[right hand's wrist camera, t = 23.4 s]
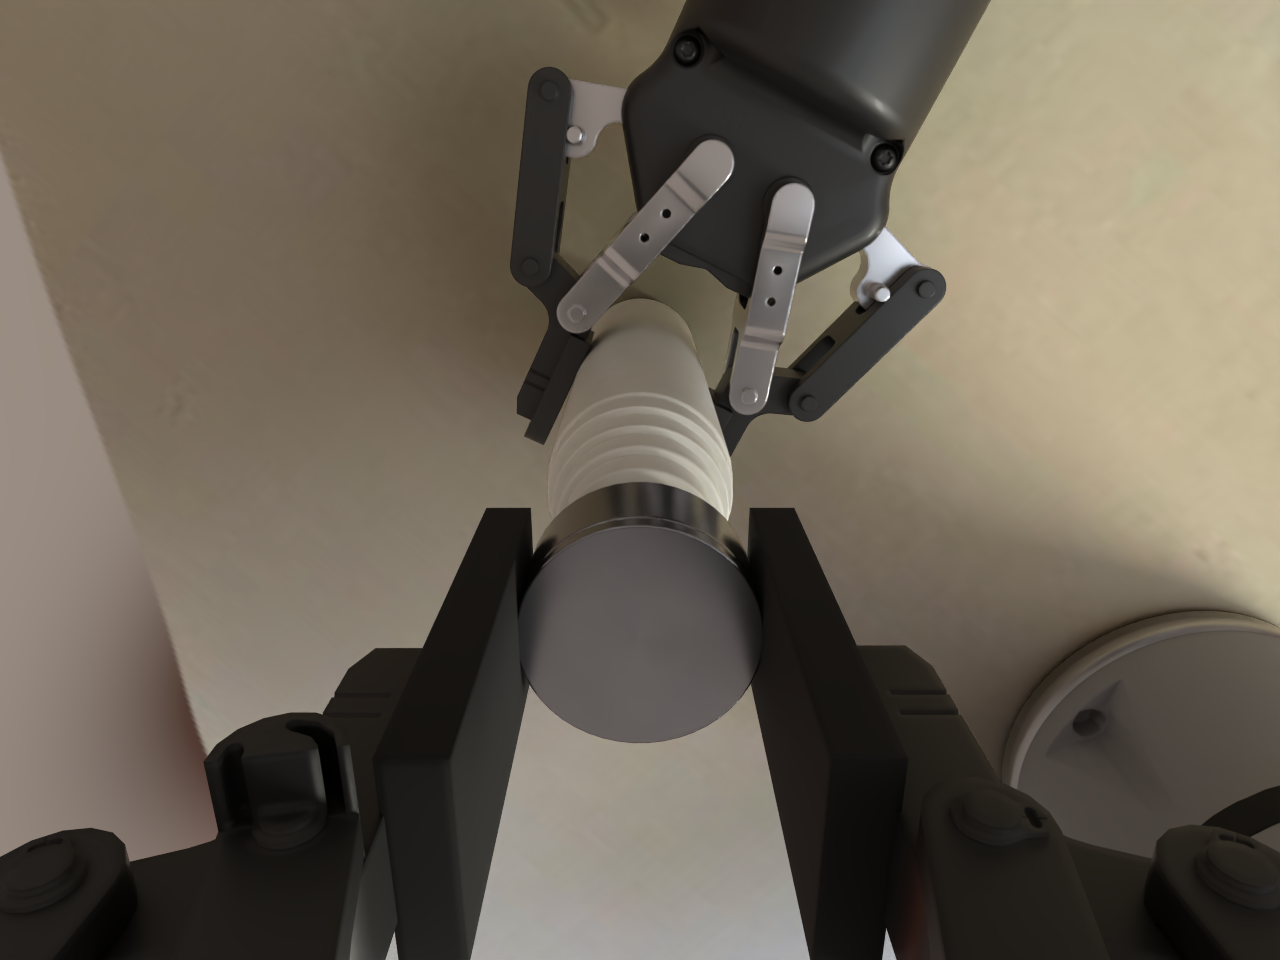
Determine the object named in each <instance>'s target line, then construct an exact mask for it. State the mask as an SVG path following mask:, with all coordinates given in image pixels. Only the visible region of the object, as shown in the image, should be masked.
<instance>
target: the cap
mask: <svg viewBox="0 0 1280 960" xmlns="http://www.w3.org/2000/svg"><path fill="white" fill-rule="evenodd" d="M517 618H518V637H519V655H520V664H521V667H522V670H523V672H524V675H525V677H526V678H527V680H528V682H529V684H530V686H531V687H532V689H533V690H534V692H535V693H536V694H537V696H538V697H539V698H540V700H541V701H542V702H543V703H544V704H545V705H546V706H547V707H548V708H549V709H550V710H551V711H553V712H554V713H555V714H556V715H558V716H559V717H560V718H561V719H563V720H564V721H566V722H568V723H569V724H571V725H572V726H574V727H576V728H578V729H580V730H582V731H585V732H587V733H589V734H592V735H595V736H598V737H601V738H604V739H609V740H614V741H619V742H629V743H652V742H660V741H666V740H671V739H675V738H679V737H682V736H685V735H688V734H691V733H694V732H696V731H698V730H700V729H702V728H704V727H706V726H708V725H709V724H711V723H712V722H714V721H715V720H717V719H719V718H720V717H721V716H722V715H724V714H725V713H726V712H727V711H728V710H730V709H731V708H732V707H733V706H734V705H735V704H736V702H737V701H738V700H739V699H740V698H741V697H742V696H743V694H744V693H745V691H746V690H747V689H748V687H749V686H750V684H751V682H752V680H753V678H754V676H755V674H756V672H757V670H758V667H759V664H760V661H761V647H762V629H763V614H762V610H761V606H760V602H759V599H758V595H757V591H756V588H755V584H754V580H753V577H752V573H751V570H750V566H749V562H748V559H747V555H746V552H745V549H744V547H743V545H742V542H741V540H740V538H739V537H738V535H737V533H736V532H735V530H734V528H733V527H732V526H731V525H730V523H729V522H728V521H727V520H726V518H725V517H724V516H723V515H722V514H721V513H720V512H718V511H717V510H716V509H715V508H714V507H713V506H711V505H710V504H709V503H707V502H706V501H704V500H703V499H701V498H699V497H697V496H695V495H694V494H692V493H690V492H687V491H685V490H682V489H679V488H677V487H673V486H669V485H665V484H660V483H651V482H628V483H621V484H615V485H611V486H607V487H603V488H600V489H598V490H595V491H593V492H590V493H588V494H586V495H584V496H583V497H581V498H579V499H577V500H575V501H574V502H573V503H571V504H570V505H569V506H567V507H566V508H565V509H563V510H562V511H561V512H560V513H559V514H558V515H557V516H556V517H555V518H554V519H553V521H552V522H551V523H550V524H549V526H548V527H547V528H546V530H545V531H544V533H543V535H542V536H541V538H540V540H539V542H538V544H537V547H536V549H535V552H534V555H533V558H532V562H531V565H530V569H529V573H528V576H527V580H526V583H525V587H524V591H523V594H522V598H521V601H520V605H519V609H518V615H517Z"/></svg>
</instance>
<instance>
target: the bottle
mask: <svg viewBox="0 0 1280 960" xmlns="http://www.w3.org/2000/svg"><path fill="white" fill-rule="evenodd" d="M591 331H593V332H594V336H593V339H592V343H591V346H590V348H589V350H588V352H587V354H586V356H585V358H584V361H583V363H582V365H581V366H580V368H579V370H578V372H577V375H576V377H575V380H574V383H573V386H572V390H571V393H570V396H569V399H568V402H567V405H566V409H565V412H564V415H563V418H562V421H561V424H560V428H559V431H558V434H557V437H556V440H555V444H554V447H553V450H552V453H551V456H550V461H549V466H548V487H547V498H548V506H549V511H550V515H551V518H552V521H553V519H554V518H555V517H556V516H557V515H558V514H559V513H560V512H561V511H562V510H563V509H565V508H566V507H567V506H569V505H570V504H571V503H573V502H574V501H575V500H577V499H579V498H581V497H583V496H584V495H586V494H588V493H590V492H593V491H595V490H598V489H600V488H603V487H607V486H611V485H615V484H621V483H628V482H651V483H660V484H665V485H669V486H673V487H677V488H679V489H682V490H685V491H687V492H690V493H692V494H694V495H695V496H697V497H699V498H701V499H703V500H704V501H706V502H707V503H709V504H710V505H711V506H713V507H714V508H715V509H716V510H717V511H718V512H720V513H721V514H722V515H723V516H724V517H725V518H726V520H727V521H728V519H729V515H730V512H731V507H732V500H733V472H732V465H731V460H730V456H729V453H728V449H727V446H726V443H725V440H724V436H723V433H722V430H721V427H720V424H719V421H718V417H717V414H716V411H715V408H714V405H713V401H712V398H711V395H710V392H709V389H708V385H707V382H706V379H705V376H704V373H703V369H702V366H701V363H700V360H699V357H698V353H697V350H696V347H695V344H694V341H693V338H692V334H691V332H690V330H689V328H688V326H687V324H686V323H685V321H684V320H683V319H682V317H681V316H680V315H679V314H678V313H677V312H676V311H674V310H673V309H672V308H670V307H669V306H667V305H665V304H663V303H661V302H658V301H655V300H650V299H630V300H626V301H623V302H620V303H618V304H615V305H613V306H612V307H610V308H609V309H608V310H607V311H606V312H605V313H604V314H603V315H602V316H601V317H600V318H599V319H598V321H597V322H596V323H595V324H594V325H593V327H592V329H591Z"/></svg>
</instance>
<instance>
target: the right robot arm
mask: <svg viewBox="0 0 1280 960" xmlns="http://www.w3.org/2000/svg"><path fill="white" fill-rule="evenodd" d="M532 558H533V544H532V523H531V508H486V510H485V512H484V514H483V517H482V519H481V521H480V523H479V525H478V528H477V530H476V532H475V534H474V536H473V539H472V541H471V543H470V545H469V547H468V550H467V552H466V554H465V556H464V558H463V561H462V563H461V565H460V567H459V569H458V572H457V574H456V576H455V578H454V580H453V583H452V585H451V587H450V589H449V591H448V594H447V596H446V598H445V600H444V602H443V605H442V607H441V609H440V611H439V613H438V615H437V618H436V620H435V622H434V624H433V626H432V629H431V631H430V633H429V635H428V637H427V640H426V642H425V644H424V646H423V648H375V649H374V650H373V651H371V652H370V653H369V654H367V655H366V656H365V657H363V658H362V659H361V660H360V661H358V662H357V663H356V664H354V665H353V666H352V667H350V668H349V669H348V671H347V672H346V674H345V676H344V678H343V679H342V681H341V683H340V684H339V686H338V688H337V690H336V691H335V696H334V698H331V700H330V702H329V703H328V705H327V707H326V708H325V710H324V712H323V715H322V714H319V713H286V714H282V715H277V716H272V717H268V718H263V719H261V720H259V721H256V722H254V723H251V724H249V725H247V726H244V727H242V728H240V729H238V730H236V731H235V732H233V733H232V734H231V735H229V736H228V737H226V738H225V739H224V740H222V741H221V742H219V743H218V744H217V745H216V746H215V747H214V749H213V750H212V751H211V753H210V754H209V755H208V757H207V758H206V759H205V761H204V766H205V771H206V776H207V780H208V785H209V790H210V794H211V799H212V804H213V808H214V813H215V818H216V822H217V827H218V834H217V837H216V839H215V840H213V841H210V842H207V843H204V844H201V845H197V846H194V847H191V848H187V849H183V850H179V851H175V852H170V853H166V854H162V855H157V856H153V857H149V858H144V859H140V860H136V861H131V862H129V858H128V854H127V850H126V846H125V844H124V843H123V842H122V841H121V840H120V839H119V838H118V837H117V836H116V835H115V834H114V833H112V832H107V831H103V830H99V829H94V828H85V829H75V830H65V831H60V832H57V833H54V834H51V835H48V836H45V837H41V838H38V839H35V840H32V841H30V842H28V843H26V844H24V845H22V846H20V847H18V848H16V849H14V850H13V851H11V852H9V853H7V854H5V855H3V856H1V857H0V960H385V959H386V956H387V953H388V950H389V947H390V943H391V940H392V937H393V934H394V931H395V937H396V944H397V952H398V959H399V960H470V958H471V954H472V949H473V944H474V940H475V935H476V930H477V926H478V921H479V916H480V912H481V907H482V902H483V898H484V893H485V889H486V884H487V879H488V875H489V870H490V865H491V861H492V856H493V851H494V847H495V842H496V837H497V833H498V828H499V823H500V819H501V814H502V809H503V805H504V800H505V796H506V791H507V786H508V782H509V777H510V772H511V768H512V763H513V758H514V754H515V749H516V744H517V740H518V735H519V730H520V726H521V721H522V716H523V712H524V707H525V703H526V698H527V693H528V689H529V682H528V680H527V678H526V677H525V675H524V672H523V670H522V667H521V664H520V655H519V637H518V618H517V615H518V609H519V605H520V601H521V598H522V594H523V591H524V587H525V583H526V580H527V576H528V573H529V569H530V565H531V562H532ZM747 559H748V562H749V566H750V570H751V573H752V577H753V580H754V584H755V588H756V591H757V595H758V599H759V602H760V606H761V610H762V614H763V629H762V647H761V661H760V664H759V667H758V670H757V672H756V674H755V676H754V678H753V680H752V682H751V686H752V691H753V695H754V700H755V705H756V709H757V714H758V719H759V723H760V728H761V733H762V737H763V742H764V747H765V751H766V756H767V761H768V765H769V770H770V774H771V779H772V784H773V788H774V793H775V798H776V802H777V807H778V812H779V816H780V821H781V826H782V830H783V835H784V840H785V844H786V849H787V853H788V858H789V863H790V867H791V872H792V877H793V881H794V886H795V891H796V895H797V900H798V905H799V909H800V914H801V919H802V923H803V928H804V932H805V937H806V942H807V946H808V951H809V956H810V960H882V956H883V948H884V941H885V933H886V928H887V931H888V934H889V938H890V941H891V944H892V947H893V950H894V953H895V956H896V959H897V960H1280V628H1278V627H1276V626H1274V625H1272V624H1270V623H1268V622H1265V621H1262V620H1259V619H1256V618H1253V617H1249V616H1245V615H1241V614H1236V613H1228V612H1221V611H1188V612H1179V613H1171V614H1165V615H1161V616H1156V617H1152V618H1148V619H1145V620H1141V621H1138V622H1135V623H1132V624H1129V625H1127V626H1124V627H1121V628H1119V629H1116V630H1114V631H1112V632H1110V633H1108V634H1106V635H1104V636H1102V637H1100V638H1098V639H1096V640H1095V641H1093V642H1091V643H1089V644H1088V645H1086V646H1084V647H1083V648H1081V649H1080V650H1078V651H1077V652H1076V653H1074V654H1073V655H1071V656H1070V657H1069V658H1067V659H1066V660H1065V661H1064V662H1062V663H1061V664H1060V665H1059V666H1058V667H1056V668H1055V669H1054V670H1053V671H1052V672H1051V673H1050V674H1049V675H1048V676H1047V677H1046V678H1045V679H1044V680H1043V681H1042V682H1041V684H1040V685H1039V686H1038V687H1037V688H1036V689H1035V690H1034V692H1033V693H1032V694H1031V696H1030V697H1029V699H1028V700H1027V701H1026V703H1025V704H1024V706H1023V707H1022V709H1021V711H1020V713H1019V714H1018V716H1017V718H1016V720H1015V722H1014V724H1013V726H1012V728H1011V731H1010V734H1009V737H1008V740H1007V742H1006V746H1005V751H1004V755H1003V762H1002V783H1001V782H1000V780H999V778H998V777H997V775H996V773H995V772H994V770H993V768H992V767H991V765H990V763H989V762H988V760H987V758H986V756H985V755H984V753H983V751H982V750H981V748H980V746H979V745H978V743H977V741H976V739H975V738H974V736H973V734H972V733H971V731H970V729H969V728H968V726H967V724H966V722H965V721H964V719H963V717H962V716H961V715H958V709H957V707H956V706H955V704H954V702H953V700H952V699H951V697H950V695H947V693H946V689H945V687H944V685H943V683H942V682H941V680H940V678H939V677H938V675H937V673H936V672H935V670H934V668H933V666H931V665H930V664H929V663H927V662H926V661H925V660H924V659H922V658H921V657H920V656H918V655H917V654H916V653H914V652H913V651H912V650H910V649H909V648H908V647H906V646H857V645H856V643H855V641H854V638H853V636H852V634H851V632H850V630H849V627H848V625H847V623H846V621H845V619H844V616H843V614H842V612H841V610H840V608H839V605H838V603H837V601H836V599H835V597H834V594H833V592H832V590H831V588H830V586H829V584H828V581H827V579H826V577H825V575H824V573H823V570H822V568H821V566H820V564H819V562H818V559H817V557H816V555H815V553H814V551H813V548H812V546H811V544H810V542H809V540H808V537H807V535H806V533H805V531H804V529H803V526H802V524H801V522H800V520H799V518H798V515H797V513H796V511H795V509H794V508H750V513H749V534H748V555H747Z"/></svg>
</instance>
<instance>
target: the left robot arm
mask: <svg viewBox="0 0 1280 960" xmlns="http://www.w3.org/2000/svg"><path fill="white" fill-rule="evenodd" d="M990 1H991V0H686V3H685V5H684V7H683V9H682V12H681V14H680V16H679V18H678V21H677V23H676V25H675V27H674V30H673V32H672V34H671V36H670V39H669V41H668V43H667V45H666V47H665V49H664V51H663V52H662V54H661V55H660V57H659V58H658V59H657V60H656V61H655V62H654V63H653V64H652V65H651V66H650V67H649V68H648V69H647V70H645V71H644V72H643V73H641V74H640V75H639V76H637V77H636V78H635V79H634V80H633V81H632V83H631V84H630V85H629V87H628V89H626V88H621V87H615V86H609V85H603V84H597V83H591V82H586V81H580V80H574V79H570V78H568V77H567V76H566V75H565V74H564V73H563V72H562V71H560V70H559V69H557V68H554V67H544V68H541V69H539V70H538V71H536V72H535V73H534V74H533V76H532V77H531V79H530V81H529V84H528V92H527V102H526V112H525V122H524V132H523V142H522V152H521V161H520V171H519V181H518V191H517V201H516V211H515V221H514V231H513V241H512V251H511V261H510V269H511V273H512V275H513V277H514V278H515V280H516V281H517V282H518V283H520V284H521V285H523V286H526V287H527V288H528V289H529V290H530V291H531V292H532V293H533V294H534V295H535V296H536V297H537V298H538V299H539V300H540V301H541V302H542V303H543V304H544V305H545V307H546V309H547V311H548V315H549V326H548V329H547V332H546V334H545V336H544V339H543V341H542V343H541V345H540V348H539V350H538V352H537V354H536V357H535V359H534V361H533V363H532V365H531V368H530V370H529V372H528V374H527V377H526V379H525V381H524V383H523V385H522V388H521V390H520V392H519V394H518V397H517V414H519V415H521V416H523V417H526V418H528V419H530V420H531V421H530V424H529V426H528V428H527V430H526V433H525V435H524V436H525V437H527V438H529V439H531V440H534V441H536V442H538V443H540V444H542V445H544V443H545V441H546V439H547V437H548V435H549V433H550V431H551V429H552V427H553V424H554V422H555V420H556V418H557V416H558V414H559V412H560V410H561V407H562V405H563V403H564V401H565V399H566V397H567V395H568V392H569V390H570V388H571V386H572V384H573V382H574V380H575V377H576V375H577V372H578V370H579V368H580V366H581V365H582V363H583V361H584V358H585V356H586V354H587V352H588V350H589V348H590V346H591V343H592V339H593V336H594V332H593V331H591V329H592V326H593V325H594V324H595V323H596V322H597V321H598V319H599V318H600V317H601V316H602V315H603V314H604V313H605V312H606V311H607V310H608V308H609V307H610V306H611V305H612V304H613V303H614V302H615V301H616V300H617V298H618V297H619V296H620V295H621V294H622V293H623V292H624V291H625V290H626V288H627V287H628V286H629V285H630V284H632V283H633V282H634V281H635V280H636V279H637V278H638V277H639V276H640V275H641V274H642V273H643V272H644V270H645V269H646V268H647V267H648V266H649V265H650V264H651V263H652V262H653V260H654V259H655V258H656V257H657V256H658V255H659V254H661V255H663V256H665V257H667V258H669V259H671V260H673V261H675V262H677V263H679V264H683V265H688V266H693V267H698V268H703V269H706V270H708V271H709V272H710V273H711V274H712V275H713V276H714V277H716V278H717V279H718V280H719V281H720V282H721V283H722V284H723V285H724V286H725V287H727V288H729V289H731V290H733V291H734V292H736V293H737V294H736V299H735V304H734V310H733V317H732V330H731V335H730V340H729V345H728V350H727V355H726V360H725V365H724V370H723V376H722V378H721V380H720V382H719V384H718V386H717V388H716V390H713V389H711V388H709V387H708V389H709V392H710V395H711V398H712V401H713V405H714V408H715V411H716V414H717V417H718V421H719V424H720V427H721V430H722V433H723V436H724V440H725V443H726V446H727V449H728V453H729V456H730V457H731V455H732V453H733V451H734V449H735V448H736V446H737V444H738V442H739V440H740V438H741V437H742V435H743V433H744V431H745V429H746V427H747V426H748V424H749V423H750V422H751V421H752V420H753V419H754V418H756V417H757V416H760V415H762V414H767V413H774V414H784V415H793V416H794V417H795V418H797V419H798V420H800V421H804V422H810V421H814V420H816V419H818V418H820V417H821V416H822V415H823V414H824V413H825V412H826V411H827V410H828V409H829V408H830V407H831V406H832V405H833V404H834V403H836V402H837V401H838V400H839V399H840V398H841V397H842V396H843V395H844V394H845V393H846V392H847V391H848V390H849V389H850V388H851V387H852V386H853V385H854V384H855V383H856V382H857V381H858V380H859V379H860V378H862V377H863V376H864V375H865V374H866V373H867V372H868V371H869V370H870V369H871V368H872V367H873V366H874V365H875V364H876V363H877V362H878V361H879V360H880V359H881V358H882V357H883V356H884V355H885V354H886V353H887V352H889V351H890V350H891V349H892V348H893V347H894V346H895V345H896V344H897V343H898V342H899V341H900V340H901V339H902V338H903V337H904V336H905V335H906V334H907V333H908V332H909V331H910V330H911V329H912V328H913V327H915V326H916V325H917V324H918V323H919V322H920V321H921V320H922V319H923V318H924V317H925V316H926V315H927V314H928V313H929V312H930V311H931V310H932V309H933V308H934V307H935V306H936V305H937V304H938V303H939V302H940V301H941V300H942V299H943V297H944V295H945V291H946V282H945V279H944V277H943V275H942V274H941V273H940V272H938V271H937V270H934V269H932V268H930V267H928V266H926V265H923V264H920V263H919V262H918V261H917V260H916V259H915V257H914V256H913V255H912V254H911V253H910V252H909V251H908V250H907V249H906V248H905V247H904V246H903V245H902V244H901V243H900V241H899V240H898V239H897V238H896V237H895V236H894V235H893V234H892V233H891V232H890V231H889V230H888V229H887V228H886V226H885V225H886V222H887V219H888V215H889V197H890V189H891V185H892V181H893V178H894V175H895V173H896V171H897V169H898V167H899V165H900V163H901V162H902V160H903V158H904V156H905V155H906V153H907V151H908V149H909V147H910V146H911V144H912V142H913V140H914V138H915V137H916V135H917V133H918V131H919V129H920V128H921V126H922V124H923V122H924V120H925V119H926V117H927V115H928V113H929V111H930V110H931V108H932V106H933V104H934V102H935V101H936V99H937V97H938V95H939V93H940V92H941V90H942V88H943V86H944V84H945V82H946V81H947V79H948V77H949V75H950V73H951V72H952V70H953V68H954V66H955V64H956V63H957V61H958V59H959V57H960V55H961V54H962V52H963V50H964V48H965V46H966V45H967V43H968V41H969V39H970V37H971V35H972V33H973V32H974V30H975V28H976V26H977V24H978V23H979V21H980V19H981V17H982V15H983V14H984V12H985V10H986V8H987V6H988V5H989V3H990ZM614 124H622V125H623V131H624V137H625V143H626V149H627V155H628V161H629V167H630V172H631V178H632V184H633V190H634V196H635V202H636V208H637V210H636V212H635V213H634V214H633V215H632V216H631V217H630V218H629V220H628V221H627V222H626V223H625V224H624V225H623V226H622V228H621V229H620V230H619V231H618V232H617V233H616V234H615V236H614V237H613V238H612V239H611V240H610V241H609V243H608V244H607V245H606V246H605V247H604V249H603V250H602V251H601V252H600V253H599V254H598V256H597V257H596V258H595V259H594V260H593V261H592V262H591V263H590V265H589V266H588V267H587V268H586V269H585V270H584V271H583V273H582V274H581V275H580V276H579V275H578V273H577V272H576V271H575V270H574V269H573V268H572V267H571V266H570V265H569V264H568V263H567V262H566V261H565V260H564V259H563V258H562V257H561V256H560V255H559V252H560V243H561V235H562V227H563V218H564V210H565V202H566V193H567V185H568V177H569V168H570V160H571V158H577V159H580V158H585V157H587V156H589V155H590V154H591V153H592V152H593V151H594V150H595V148H596V146H597V143H598V139H599V137H600V135H601V133H602V132H603V131H604V130H605V129H606V128H607V127H609V126H611V125H614ZM858 251H859V253H860V256H861V265H860V268H859V270H858V272H857V274H856V275H855V276H854V278H853V279H852V282H851V285H850V294H851V297H852V299H853V300H854V301H855V302H854V303H853V304H852V305H851V306H850V307H849V308H848V309H847V310H846V311H845V312H844V313H843V314H842V315H841V316H839V317H838V318H837V319H836V320H835V321H834V322H833V323H832V324H831V325H830V326H829V327H828V328H827V329H826V330H825V331H824V332H823V333H822V334H821V335H820V336H819V337H818V338H817V339H816V340H815V341H814V342H813V343H812V344H811V345H810V346H809V347H808V348H807V349H806V350H805V351H804V352H803V353H802V354H801V355H800V356H799V357H798V358H797V359H796V360H795V361H794V362H793V363H792V364H791V365H790V366H789V367H788V368H779V367H775V363H776V358H777V354H778V350H779V347H780V345H781V343H782V342H783V339H784V336H785V332H786V328H787V323H788V319H789V314H790V310H791V305H792V301H793V296H794V292H795V287H796V284H797V283H799V282H801V281H803V280H805V279H807V278H809V277H811V276H812V275H814V274H816V273H818V272H820V271H822V270H824V269H826V268H828V267H830V266H831V265H833V264H835V263H837V262H839V261H841V260H843V259H845V258H847V257H849V256H850V255H852V254H854V253H856V252H858Z"/></svg>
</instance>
